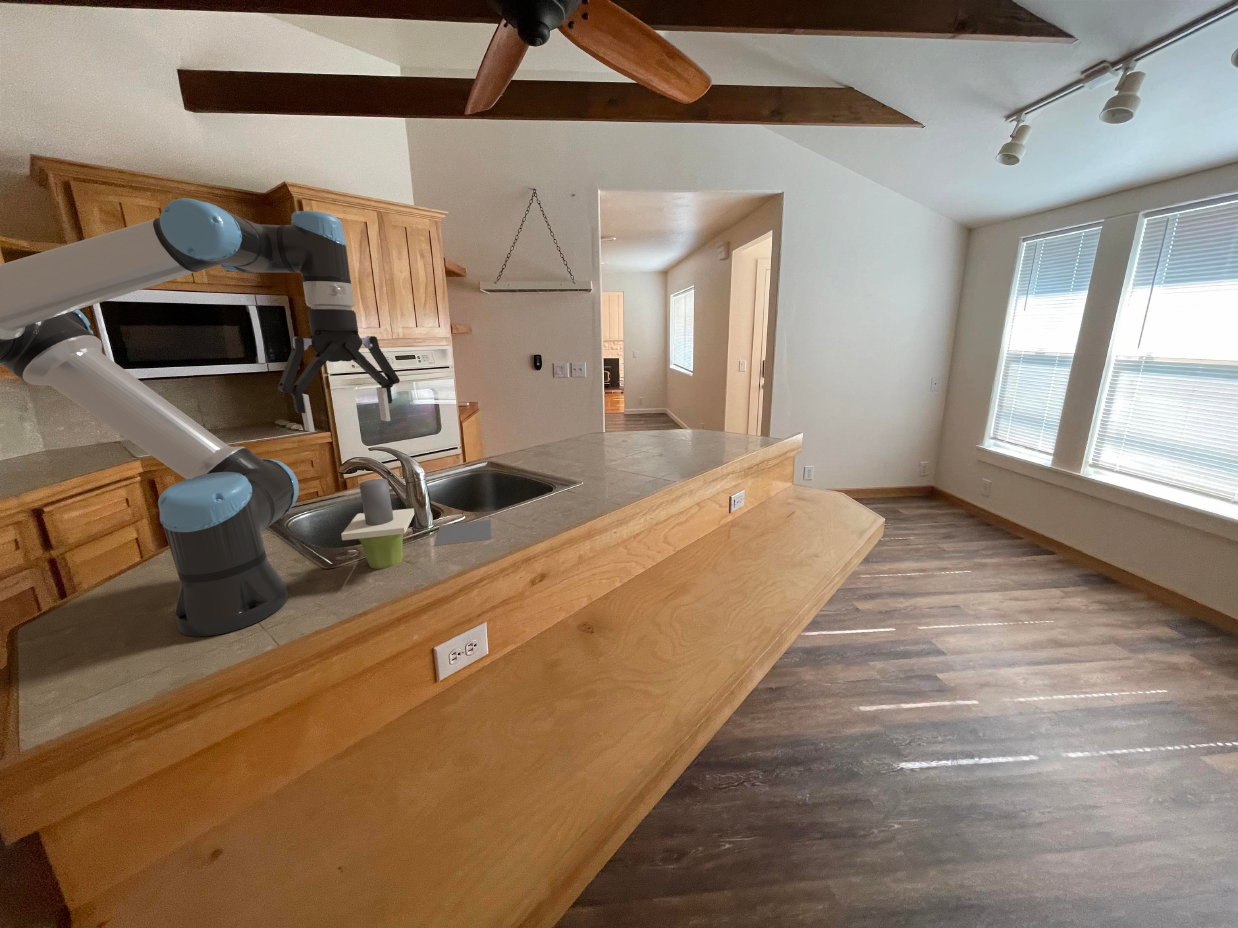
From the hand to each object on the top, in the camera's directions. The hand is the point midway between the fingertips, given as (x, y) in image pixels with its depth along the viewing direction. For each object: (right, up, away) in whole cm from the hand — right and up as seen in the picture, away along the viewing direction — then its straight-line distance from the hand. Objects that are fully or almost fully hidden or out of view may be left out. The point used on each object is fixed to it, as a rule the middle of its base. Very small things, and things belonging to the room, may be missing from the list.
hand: (349, 425), depth 92 cm
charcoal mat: (+15, -24, +21) cm, 35 cm away
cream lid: (+4, -20, +5) cm, 21 cm away
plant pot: (+4, -28, +7) cm, 30 cm away
